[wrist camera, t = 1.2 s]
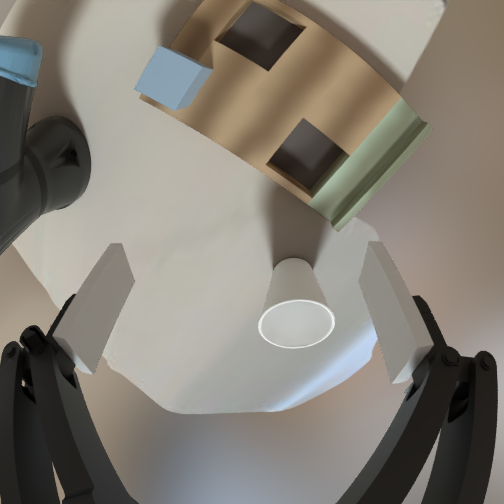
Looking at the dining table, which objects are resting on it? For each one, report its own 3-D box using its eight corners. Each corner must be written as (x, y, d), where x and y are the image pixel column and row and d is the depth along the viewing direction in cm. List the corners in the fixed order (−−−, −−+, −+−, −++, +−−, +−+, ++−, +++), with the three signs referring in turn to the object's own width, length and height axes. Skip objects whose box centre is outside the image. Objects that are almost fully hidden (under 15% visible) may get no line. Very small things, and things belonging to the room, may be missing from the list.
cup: (277, 236, 39) (278, 289, 30) (335, 259, 41) (350, 312, 32) (251, 284, 44) (246, 338, 35) (305, 301, 46) (310, 354, 37)
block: (153, 87, 25) (133, 89, 21) (176, 50, 22) (159, 45, 18) (188, 106, 26) (174, 110, 22) (213, 69, 24) (202, 67, 20)
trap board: (149, 96, 28) (133, 99, 24) (229, -17, 19) (224, -30, 15) (331, 215, 36) (338, 232, 33) (415, 122, 27) (433, 129, 24)
